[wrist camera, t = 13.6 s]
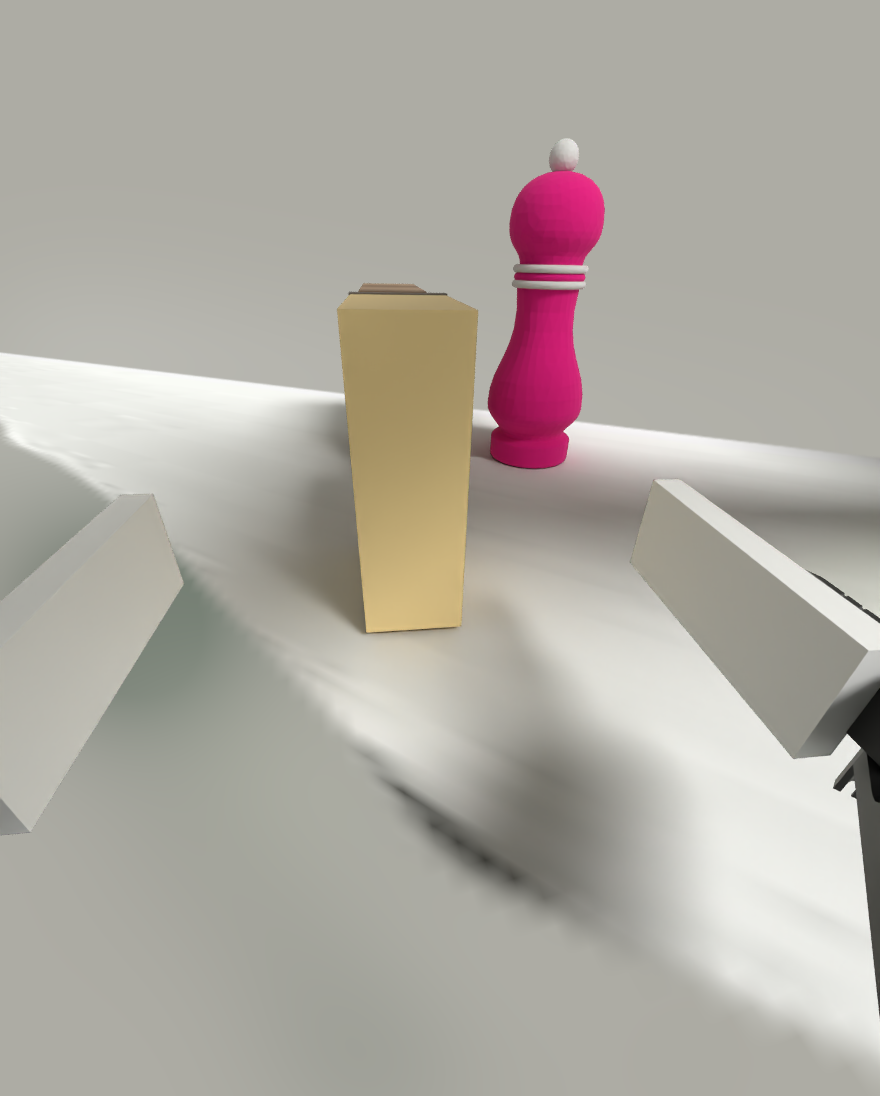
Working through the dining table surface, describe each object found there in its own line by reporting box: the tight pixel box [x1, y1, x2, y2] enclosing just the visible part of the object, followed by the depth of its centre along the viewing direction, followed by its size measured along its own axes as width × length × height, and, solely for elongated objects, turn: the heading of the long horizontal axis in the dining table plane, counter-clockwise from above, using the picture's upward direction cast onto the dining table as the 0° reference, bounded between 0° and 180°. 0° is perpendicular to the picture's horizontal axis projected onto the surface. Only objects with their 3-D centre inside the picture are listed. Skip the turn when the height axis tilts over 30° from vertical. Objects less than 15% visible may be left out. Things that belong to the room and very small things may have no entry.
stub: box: [337, 292, 478, 633], centre depth 20 cm, size 8×4×12 cm, turn 7°
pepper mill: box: [488, 139, 605, 468], centre depth 33 cm, size 7×7×20 cm
